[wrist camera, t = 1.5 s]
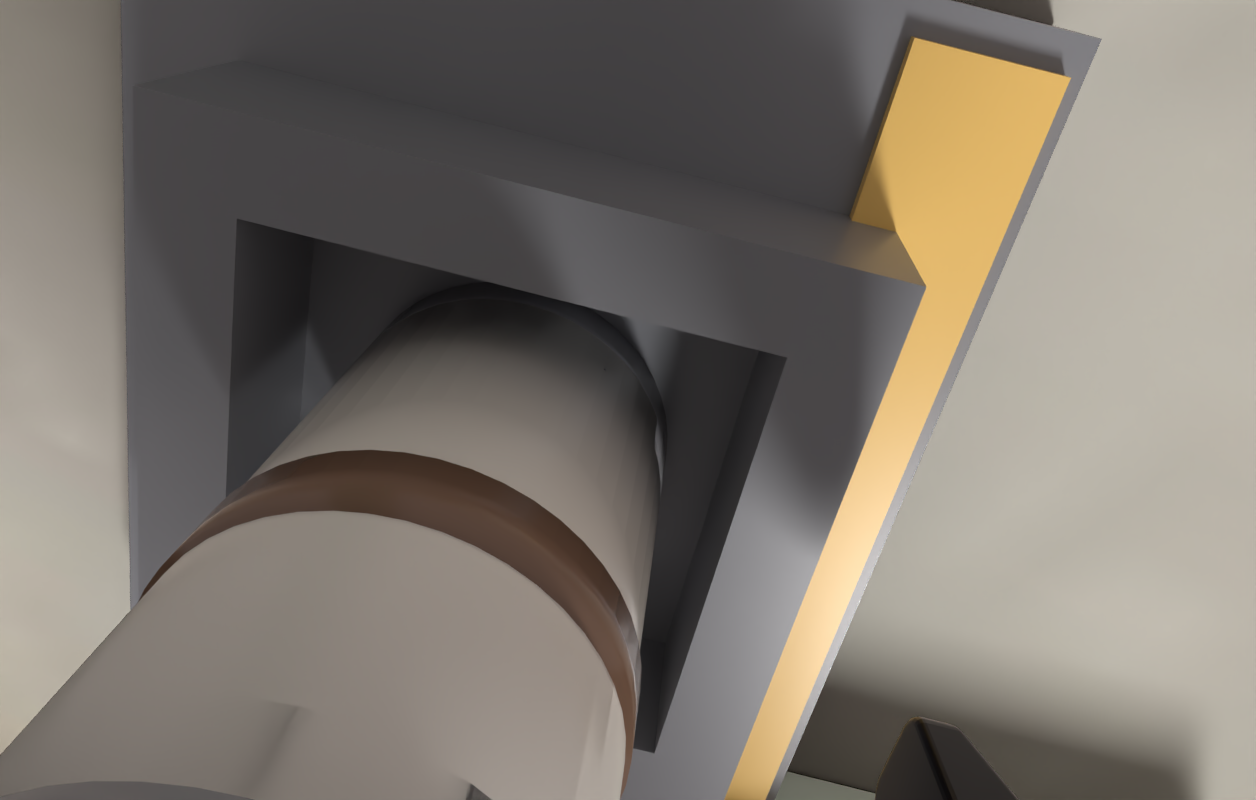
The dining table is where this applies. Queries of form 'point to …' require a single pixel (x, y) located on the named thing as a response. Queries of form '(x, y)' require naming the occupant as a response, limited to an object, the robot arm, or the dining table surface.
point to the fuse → (398, 587)
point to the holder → (599, 272)
